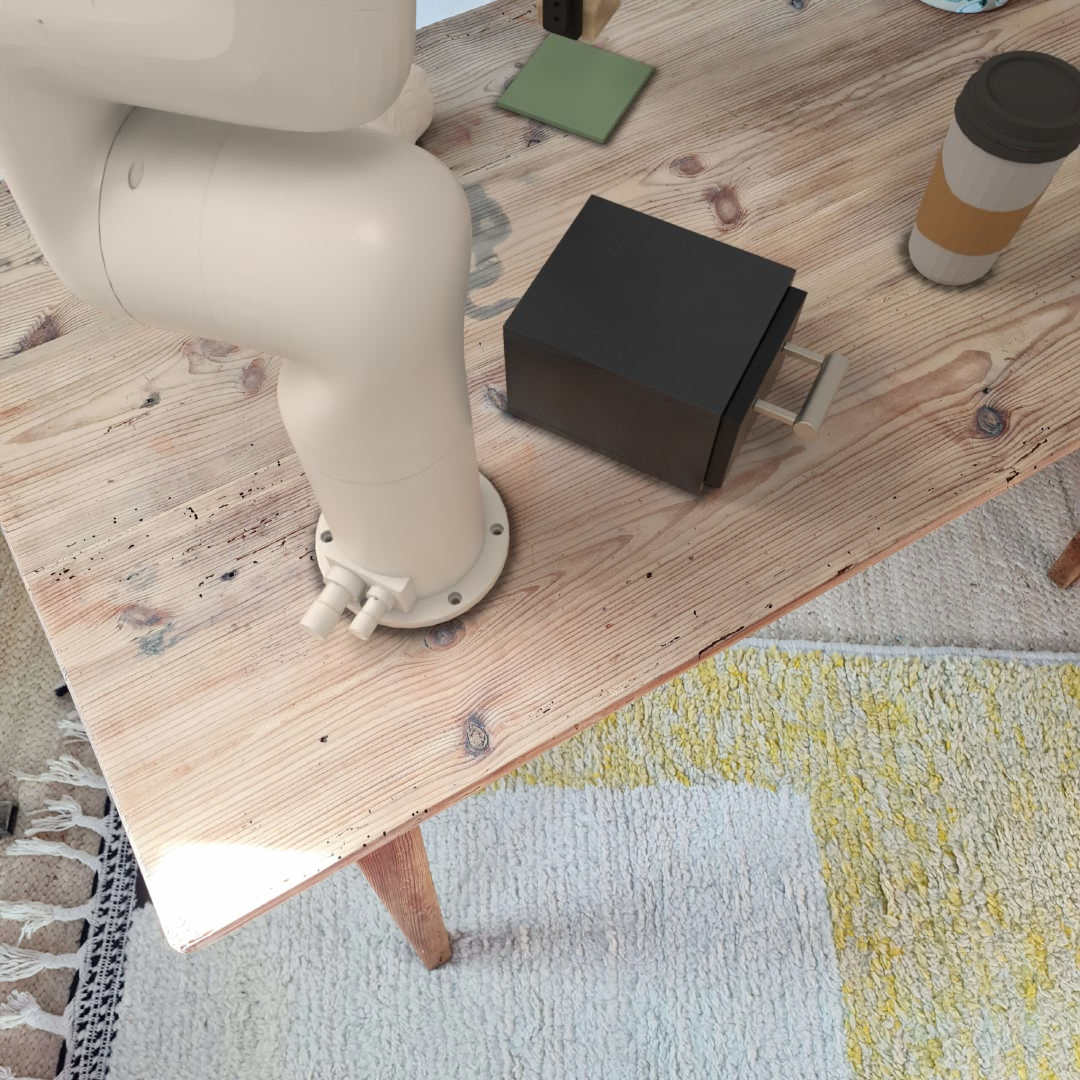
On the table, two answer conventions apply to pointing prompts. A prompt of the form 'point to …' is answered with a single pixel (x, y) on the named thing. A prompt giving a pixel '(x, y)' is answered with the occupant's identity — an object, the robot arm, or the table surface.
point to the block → (591, 16)
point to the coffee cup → (995, 162)
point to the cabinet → (639, 339)
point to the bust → (408, 109)
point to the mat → (576, 87)
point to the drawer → (761, 380)
